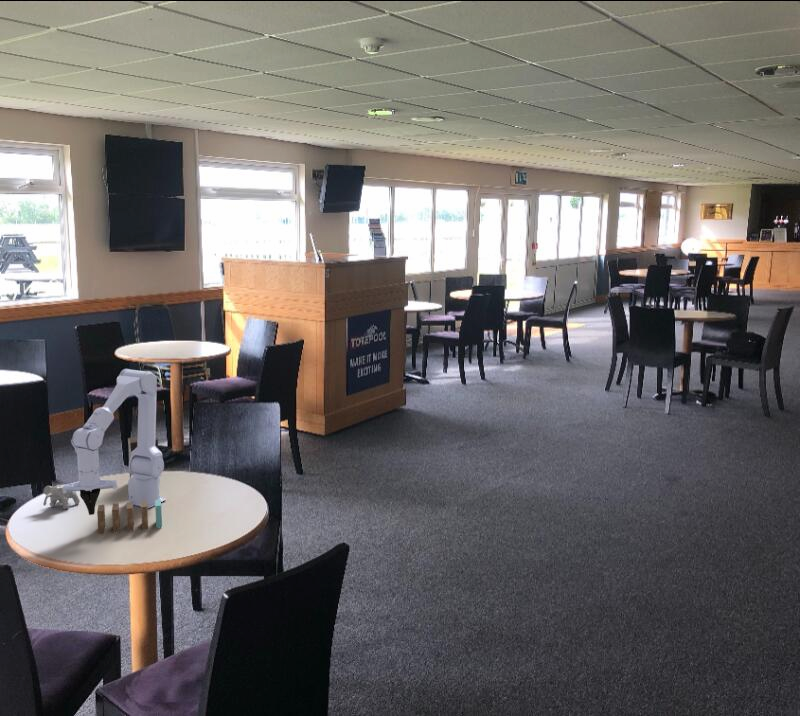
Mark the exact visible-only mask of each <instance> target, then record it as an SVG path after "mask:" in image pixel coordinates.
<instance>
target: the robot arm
mask: <svg viewBox="0 0 800 716" xmlns="http://www.w3.org/2000/svg"><path fill="white" fill-rule="evenodd" d="M157 381H158V377H157V375H155V374H154V373H153V372H152V371H149V370H136V369H130V368H124V369H122V370H121V371H120V373H119V375H118V376H117V378H116V385H115V387H114V389H113V390H112V392H111V393H110V395H109V397H108V398H107V400H106V401H105V403H104V405H103V406H102V407H101V406H100V407H97V408H95V409H94V411H93V412H92V414H91V416H90V417H89V418H88V419H87V421H86V422H85V423H84V424H83V426H82V427H80V428H78V429H76V430H75V431H74V432H73V435H72V438H71V439H70V442H71V445H72V447H73V448H74V453H76V459H77V471H78V472H77V473H78V482H77V481H76V482H72V483H67V484H66V483H65V485H63V484H62V485H63V487H62V490H63V493H67V492H74V491H75V492H79V496H80V499H82V501H83V503H84V504H85V507H86V508H87V511H88V515H89V516H93V515H95V513H96V505H97V501H98V498H99V495H100V493H101V490H106V489H107V490H108V489H113V490H116V489H117V488H118V480H116V479H115V480H114V479H113V480H107V479H106V480H105V479H103V480H102V479H101V471H100V469H101V468H100V467H101V466H100V458H99V457H100V455H99V454H100V453H99V447H100V446H102V444H103V440H104V436H105V432H106V431H107V429H108V428H109V426H110V425H111V424H112V423H113V422H114V420H115V415H114V413H115V412H116V410H117V409H118V408H119V407H120V406H121V405H122V404H123V402H124V401H126V400H127V398H128V397H129V396H133V395H134V396H135V397H136V398H137V399H138V400H137V401H138V402H137V404H138V407H137V408H138V409H137V410H138V411H137V437H138V440H137V448H136V449H134V450H133V451H132V452H131V458H130V461H129V460H128V470H130V472H131V473H133V475H132V476H131V477H130V476H129V480H128V482H127V488H128V489H127V490H128V500H127V501H126V503H127V502H133V506H137V507H140V508H141V501H147V509H151V508H152V507H155V500H159V499H161V502H162V503H164V502H166V501H167V499H166V498H164V497H161V493H160V492H161V491H160V484H159V482H160V477H161V476H162V473H163V471H164V469H165V463H164V459H163V453H162V451H161V450H160V449H159V447H158V448H156V446H155V436H156V430H157V429H156V428H157V427H156V426H157V394H158V393H157V391H158V390H157V386H158V385H157ZM130 472H129V473H130ZM165 500H166V501H165ZM163 501H164V502H163Z"/></svg>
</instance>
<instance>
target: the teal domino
mask: <svg viewBox="0 0 800 716" xmlns="http://www.w3.org/2000/svg"><path fill="white" fill-rule="evenodd" d="M154 508H155V509H154V510H155V527H156V529H160V528H159V527H162V528H163V514H162V503H161V499H159V500H155V506H154Z"/></svg>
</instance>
